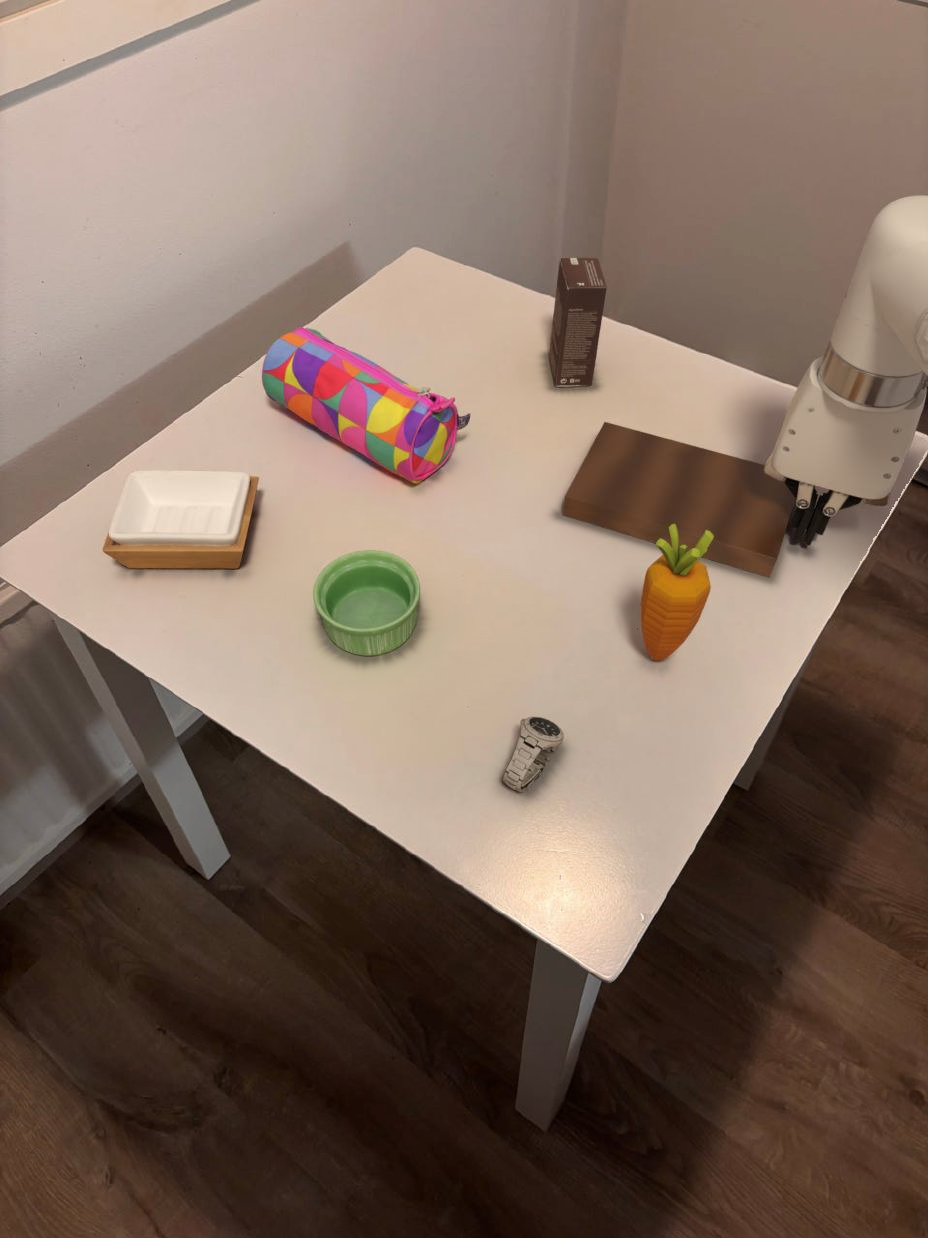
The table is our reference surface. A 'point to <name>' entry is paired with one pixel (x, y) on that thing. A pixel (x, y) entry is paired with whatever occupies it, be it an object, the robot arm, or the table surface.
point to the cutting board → (682, 497)
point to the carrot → (673, 595)
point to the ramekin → (368, 601)
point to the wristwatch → (532, 752)
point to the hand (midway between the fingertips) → (804, 533)
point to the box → (576, 321)
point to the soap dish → (182, 519)
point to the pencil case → (362, 404)
